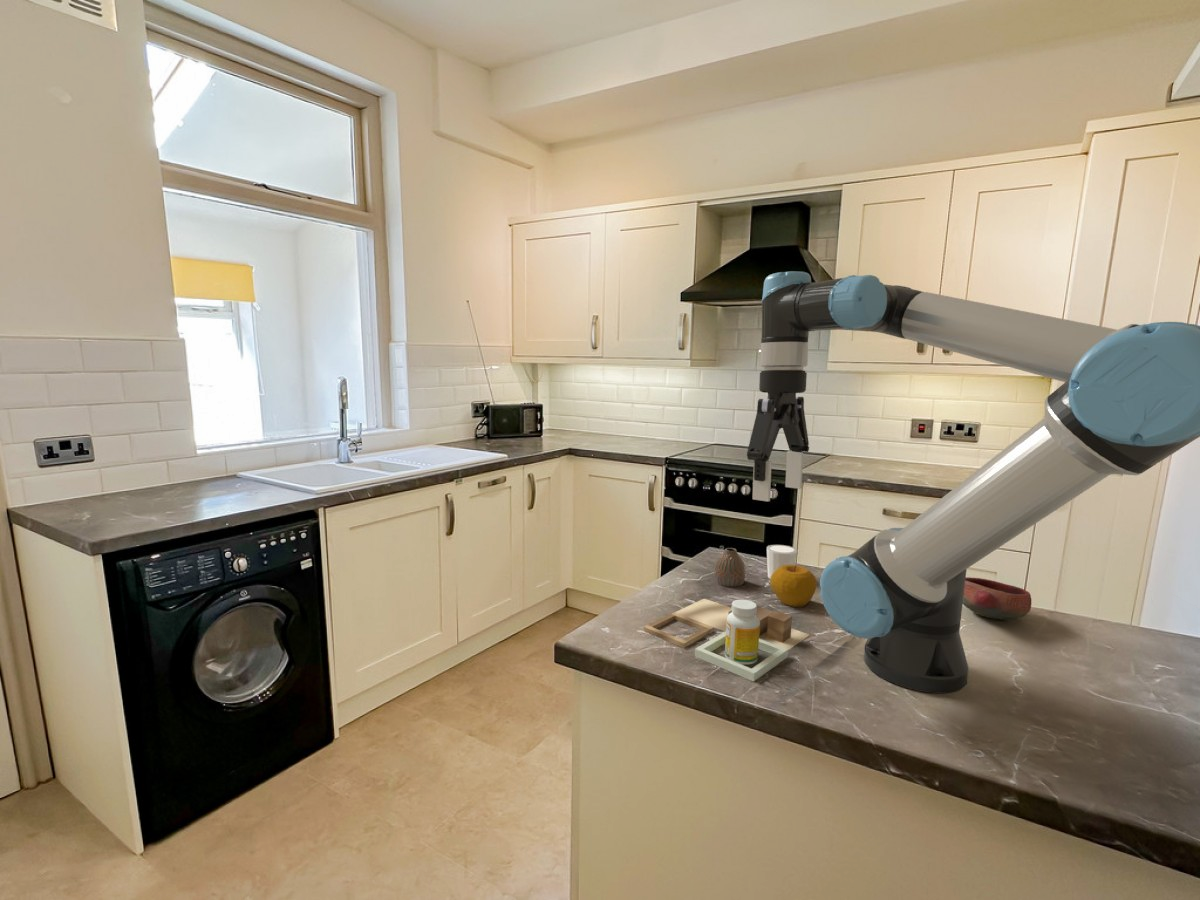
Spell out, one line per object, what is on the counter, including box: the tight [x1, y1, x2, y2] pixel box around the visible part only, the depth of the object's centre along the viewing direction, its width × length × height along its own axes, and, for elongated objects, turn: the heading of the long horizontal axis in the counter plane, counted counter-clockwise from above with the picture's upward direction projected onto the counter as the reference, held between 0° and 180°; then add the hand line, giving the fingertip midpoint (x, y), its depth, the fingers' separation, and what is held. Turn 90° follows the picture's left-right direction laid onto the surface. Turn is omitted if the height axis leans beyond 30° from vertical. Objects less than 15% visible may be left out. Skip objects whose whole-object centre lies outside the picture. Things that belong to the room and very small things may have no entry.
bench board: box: [675, 598, 811, 651], centre depth 111 cm, size 23×10×5 cm, turn 45°
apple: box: [769, 564, 817, 608], centre depth 121 cm, size 9×9×9 cm
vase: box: [713, 547, 747, 588], centre depth 131 cm, size 7×7×9 cm
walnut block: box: [728, 606, 775, 636], centre depth 109 cm, size 6×6×3 cm
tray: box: [694, 631, 789, 682], centre depth 98 cm, size 11×11×2 cm
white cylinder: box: [766, 544, 798, 579], centre depth 138 cm, size 7×7×7 cm
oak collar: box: [643, 611, 715, 649], centre depth 107 cm, size 9×9×2 cm
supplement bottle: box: [724, 599, 760, 666], centre depth 98 cm, size 5×5×10 cm
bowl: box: [962, 576, 1032, 621], centre depth 116 cm, size 16×13×8 cm
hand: (778, 493), depth 101 cm, fingers open, 13 cm apart
